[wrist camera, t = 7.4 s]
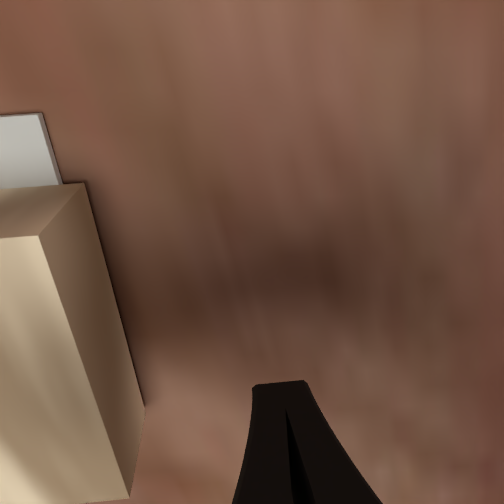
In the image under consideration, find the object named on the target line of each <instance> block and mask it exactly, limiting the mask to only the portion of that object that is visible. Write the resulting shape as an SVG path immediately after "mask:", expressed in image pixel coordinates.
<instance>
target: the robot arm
mask: <svg viewBox="0 0 504 504" xmlns="http://www.w3.org/2000/svg"><path fill="white" fill-rule="evenodd" d="M252 396H253V397H252V413H251V421H250V428H249V434H248V439H247V444H246V449H245V454H244V459H243V464H242V468H241V472H240V476H239V479H238V483H237V487H236V490H235V494H234V498H233V502H232V504H383V503H382V502H381V501H380V500H379V498H378V497H377V496H376V494H375V493H374V492H373V490H372V489H371V487H370V486H369V485H368V483H367V482H366V480H365V479H364V478H363V476H362V475H361V474H360V472H359V471H358V469H357V468H356V466H355V465H354V463H353V462H352V460H351V459H350V457H349V456H348V454H347V453H346V451H345V450H344V448H343V447H342V445H341V444H340V442H339V440H338V439H337V437H336V436H335V434H334V432H333V431H332V429H331V428H330V426H329V424H328V422H327V421H326V419H325V417H324V415H323V414H322V412H321V410H320V408H319V406H318V405H317V403H316V401H315V399H314V397H313V395H312V393H311V390H310V388H309V386H308V383H307V382H305V381H304V380H299V381H289V382H278V383H268V384H258V385H255V386H254V387H253V388H252Z"/></svg>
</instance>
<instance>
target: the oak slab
mask: <svg viewBox="0 0 504 504" xmlns="http://www.w3.org/2000/svg"><path fill="white" fill-rule="evenodd" d="M144 419H145V409H144V405H143V401H142V398H141V394H140V390H139V386H138V383H137V379H136V375H135V371H134V368H133V364H132V360H131V356H130V353H129V349H128V345H127V341H126V338H125V334H124V330H123V326H122V323H121V319H120V315H119V312H118V308H117V304H116V300H115V297H114V293H113V289H112V285H111V282H110V278H109V274H108V270H107V267H106V263H105V259H104V255H103V252H102V248H101V244H100V240H99V237H98V233H97V229H96V225H95V222H94V218H93V214H92V211H91V207H90V203H89V199H88V196H87V192H86V188H85V184H84V183H76V184H62V185H49V186H36V187H23V188H9V189H0V504H81V503H90V502H100V501H109V500H118V499H128V498H130V493H131V488H132V482H133V477H134V472H135V467H136V461H137V456H138V451H139V445H140V440H141V435H142V429H143V424H144Z"/></svg>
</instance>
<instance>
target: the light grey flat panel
mask: <svg viewBox="0 0 504 504" xmlns="http://www.w3.org/2000/svg"><path fill="white" fill-rule="evenodd" d="M62 184H63V183H62V180H61V176H60V173H59V169H58V166H57V163H56V159H55V156H54V152H53V149H52V146H51V142H50V139H49V135H48V132H47V129H46V125H45V122H44V118H43V115H42V113H30V114H15V115H0V189H9V188H23V187H36V186H49V185H62Z"/></svg>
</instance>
